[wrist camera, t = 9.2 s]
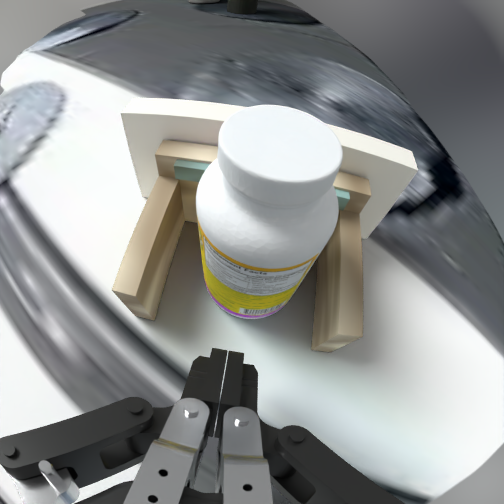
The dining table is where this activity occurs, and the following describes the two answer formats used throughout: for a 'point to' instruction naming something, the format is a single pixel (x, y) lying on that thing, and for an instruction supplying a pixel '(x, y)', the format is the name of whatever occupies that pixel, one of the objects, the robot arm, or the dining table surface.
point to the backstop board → (214, 114)
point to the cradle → (184, 209)
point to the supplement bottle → (266, 207)
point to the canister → (203, 1)
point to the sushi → (242, 6)
